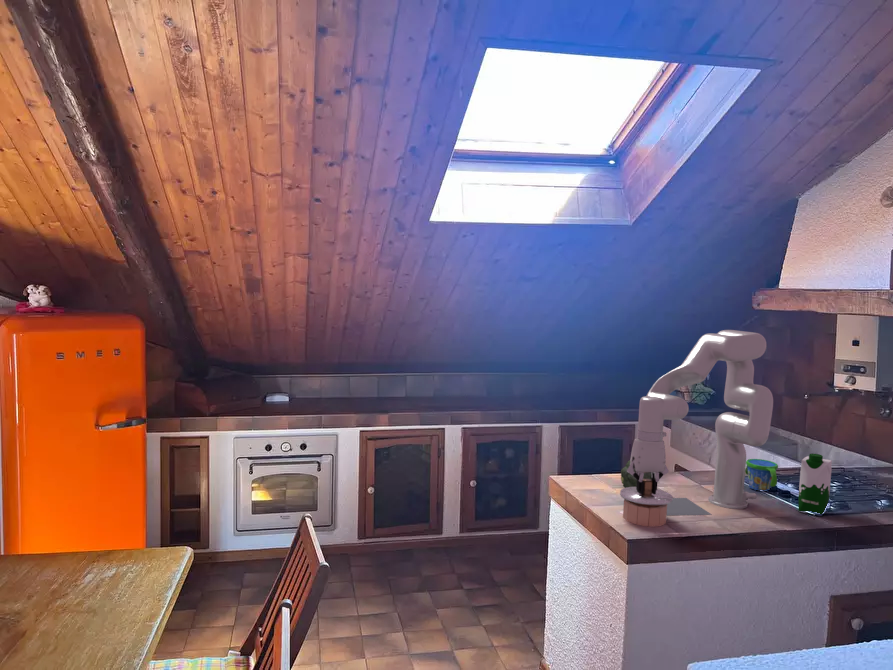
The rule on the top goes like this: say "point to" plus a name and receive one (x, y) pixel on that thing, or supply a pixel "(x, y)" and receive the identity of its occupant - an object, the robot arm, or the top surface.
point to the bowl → (644, 514)
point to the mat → (684, 508)
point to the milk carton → (814, 483)
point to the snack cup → (761, 474)
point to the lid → (646, 495)
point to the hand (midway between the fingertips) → (646, 492)
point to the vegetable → (631, 477)
